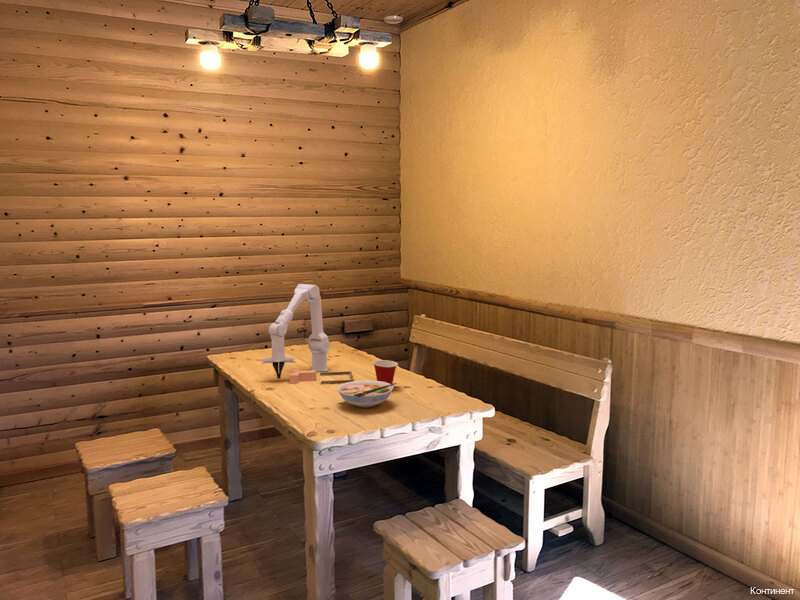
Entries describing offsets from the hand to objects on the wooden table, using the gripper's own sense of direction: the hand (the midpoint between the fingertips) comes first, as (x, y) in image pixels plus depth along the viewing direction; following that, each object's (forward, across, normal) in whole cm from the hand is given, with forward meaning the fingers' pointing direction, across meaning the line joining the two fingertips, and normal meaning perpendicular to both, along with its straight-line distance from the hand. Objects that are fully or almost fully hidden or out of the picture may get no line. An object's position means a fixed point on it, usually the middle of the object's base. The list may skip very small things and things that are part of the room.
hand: (279, 378), depth 303 cm
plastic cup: (+2, +47, -21) cm, 52 cm away
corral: (+1, +26, 0) cm, 26 cm away
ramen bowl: (+2, +36, -44) cm, 57 cm away
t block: (+2, +11, 0) cm, 11 cm away
